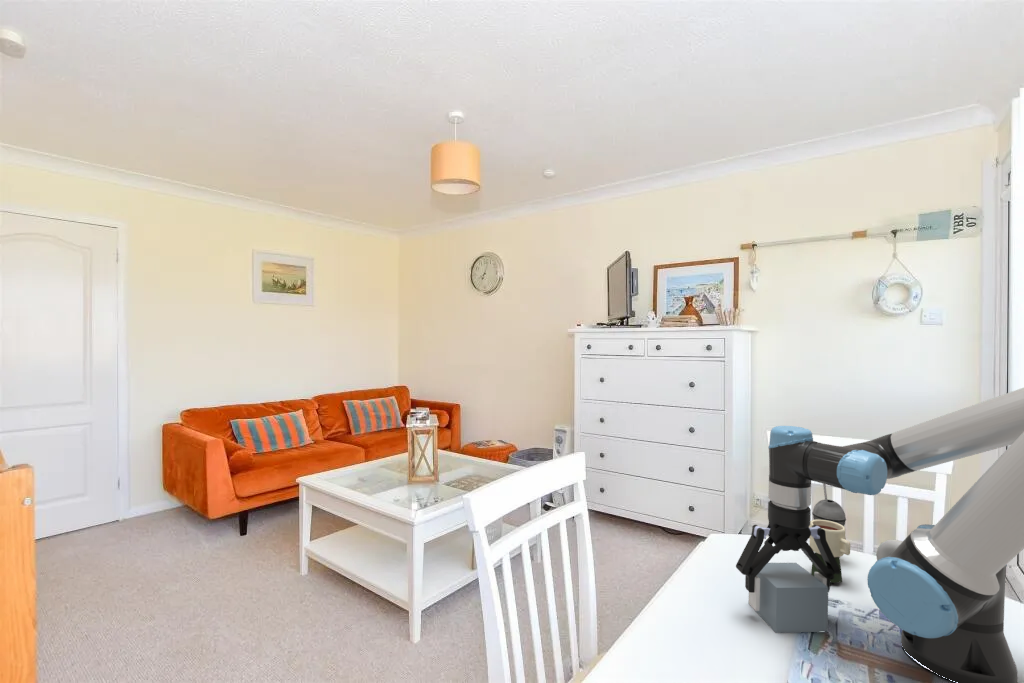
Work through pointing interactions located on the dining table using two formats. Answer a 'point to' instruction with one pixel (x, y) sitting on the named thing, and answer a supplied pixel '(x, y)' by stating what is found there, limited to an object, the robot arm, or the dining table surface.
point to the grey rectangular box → (792, 599)
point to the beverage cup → (829, 510)
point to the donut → (887, 548)
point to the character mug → (831, 544)
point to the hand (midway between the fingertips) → (786, 607)
